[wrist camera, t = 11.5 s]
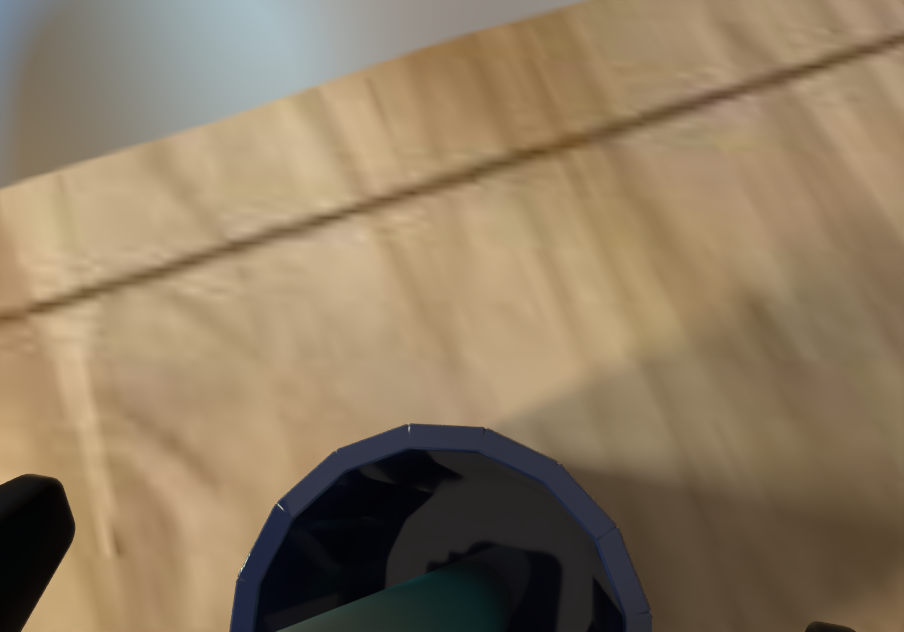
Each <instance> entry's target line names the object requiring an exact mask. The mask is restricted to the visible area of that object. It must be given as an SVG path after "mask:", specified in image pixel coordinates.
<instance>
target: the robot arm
mask: <svg viewBox="0 0 904 632" xmlns="http://www.w3.org/2000/svg"><path fill="white" fill-rule="evenodd" d="M74 534H75V521H74V518H73V515H72V512H71V509H70V506H69V503H68V500H67V497H66V494H65V491H64V488H63V485H62V484H61V482H60V481H59V480H57V479H56V478H52V477H47V476H42V475H36V474H25V475H21V476H19V477H17V478H15V479H12V480H10V481H8V482H6V483H4V484H2V485H0V632H21V631H22V629H23V627H24V625H25V624H26V622H27V620H28V618H29V617H30V615H31V613H32V611H33V610H34V608H35V606H36V604H37V603H38V601H39V599H40V598H41V596H42V594H43V592H44V591H45V589H46V587H47V585H48V584H49V582H50V580H51V578H52V577H53V575H54V573H55V571H56V570H57V568H58V566H59V564H60V563H61V561H62V559H63V557H64V556H65V554H66V552H67V550H68V549H69V547H70V545H71V543H72V541H73V538H74ZM805 632H856V631H854V630H853V629H851V628H849V627H846V626H841V625H835V624H830V623H825V622H819V621H814V622H812V623H810V624H809V625H808V627H807V628H806V630H805Z"/></svg>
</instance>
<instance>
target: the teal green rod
mask: <svg viewBox="0 0 904 632" xmlns="http://www.w3.org/2000/svg"><path fill="white" fill-rule="evenodd" d="M511 613H512V605H511V598H510V595H509V592H508V589H507V587H506V585H505V583H504V581H503V580H502V579H501V577H500V576H499V575H498V574H497V573H496V572H495V571H494V570H492V569H491V568H490V567H488V566H486V565H484V564H482V563H479V562H475V561H458V562H454V563H451V564H449V565H446V566H443V567H441V568H438V569H436V570H433V571H431V572H428V573H426V574H423V575H420V576H418V577H415V578H413V579H410V580H408V581H405V582H402V583H400V584H397V585H395V586H392V587H390V588H387V589H384V590H382V591H379V592H377V593H374V594H372V595H369V596H366V597H364V598H361V599H359V600H356V601H354V602H351V603H348V604H346V605H343V606H341V607H338V608H336V609H333V610H330V611H328V612H325V613H323V614H320V615H318V616H315V617H312V618H310V619H307V620H305V621H302V622H300V623H297V624H294V625H292V626H289V627H287V628H284V629H282V630H279V631H276V632H507V630H508V627H509V624H510V620H511Z"/></svg>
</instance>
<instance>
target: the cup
mask: <svg viewBox="0 0 904 632" xmlns="http://www.w3.org/2000/svg"><path fill="white" fill-rule="evenodd" d="M458 561H475V562H479V563H482V564H484V565H486V566H488V567H490V568H491V569H492V570H494V571H495V572H496V573H497V574H498V575H499V576H500V577H501V579H502V580H503V581H504V583H505V585H506V587H507V589H508V592H509V595H510V598H511V605H512V613H511V620H510V624H509V627H508V630H507V632H652V614H651V613H650V612H651V608H650V605H649V603H648V600H647V598H646V595H645V593H644V590H643V588H642V585H641V582H640V580H639V577H638V575H637V572H636V570H635V567H634V565H633V562H632V560H631V557H630V554H629V552H628V549H627V547H626V544H625V542H624V539H623V537H622V534H621V532H620V529H619V528H618V527H617V525H616V523H615V522H614V521H613V520H612V519H611V518H610V517H609V515H608V514H607V513H606V512H605V511H604V510H603V509H602V508H601V507H600V506H599V505H598V503H597V502H596V501H595V500H594V499H593V498H592V497H591V496H590V495H589V494H588V493H587V491H586V490H585V489H584V488H583V487H582V486H581V485H580V484H579V483H578V482H577V481H576V480H575V478H574V477H573V476H572V475H571V474H570V473H569V472H568V471H567V470H566V469H565V468H564V466H563V465H562V464H560V463H559V464H558V462H557V461H556V460H554V459H552V458H550V457H548V456H546V455H544V454H542V453H539V452H537V451H535V450H533V449H531V448H529V447H527V446H525V445H523V444H521V443H518V442H516V441H514V440H512V439H510V438H508V437H506V436H504V435H502V434H500V433H497V432H495V431H493V430H491V429H489V428H486V429H485V428H484V427H474V426H453V425H433V424H412V423H411V424H409V425H408V424H405V425H402V426H399V427H397V428H394V429H391V430H388V431H386V432H383V433H380V434H377V435H375V436H372V437H369V438H366V439H363V440H361V441H358V442H355V443H352V444H350V445H347V446H344V447H341V448H339V449H337V451H334V452H332V453H331V454H330V455H329V456H328V457H327V458H326V459H324V460H323V461H322V462H321V463H320V464H319V465H318V466H317V467H315V468H314V469H313V470H312V471H311V472H310V473H309V474H308V475H307V476H305V477H304V478H303V479H302V480H301V481H300V482H299V483H298V484H296V485H295V486H294V487H293V488H292V489H291V490H290V491H289V492H287V493H286V494H285V495H284V496H283V497H282V498H281V499H280V500H279V501H278V502H277V504H276V505H274V507H273V509H272V511H271V513H270V515H269V517H268V519H267V520H266V522H265V524H264V526H263V528H262V530H261V532H260V534H259V536H258V538H257V540H256V542H255V543H254V545H253V547H252V549H251V551H250V553H249V555H248V557H247V559H246V561H245V563H244V564H243V566H242V568H241V570H240V572H239V574H238V579H237V581H236V587H235V595H234V602H233V609H232V616H231V624H230V631H229V632H276V631H279V630H282V629H284V628H287V627H289V626H292V625H294V624H297V623H300V622H302V621H305V620H307V619H310V618H312V617H315V616H318V615H320V614H323V613H325V612H328V611H330V610H333V609H336V608H338V607H341V606H343V605H346V604H348V603H351V602H354V601H356V600H359V599H361V598H364V597H366V596H369V595H372V594H374V593H377V592H379V591H382V590H384V589H387V588H390V587H392V586H395V585H397V584H400V583H402V582H405V581H408V580H410V579H413V578H415V577H418V576H420V575H423V574H426V573H428V572H431V571H433V570H436V569H438V568H441V567H443V566H446V565H449V564H451V563H454V562H458Z"/></svg>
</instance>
